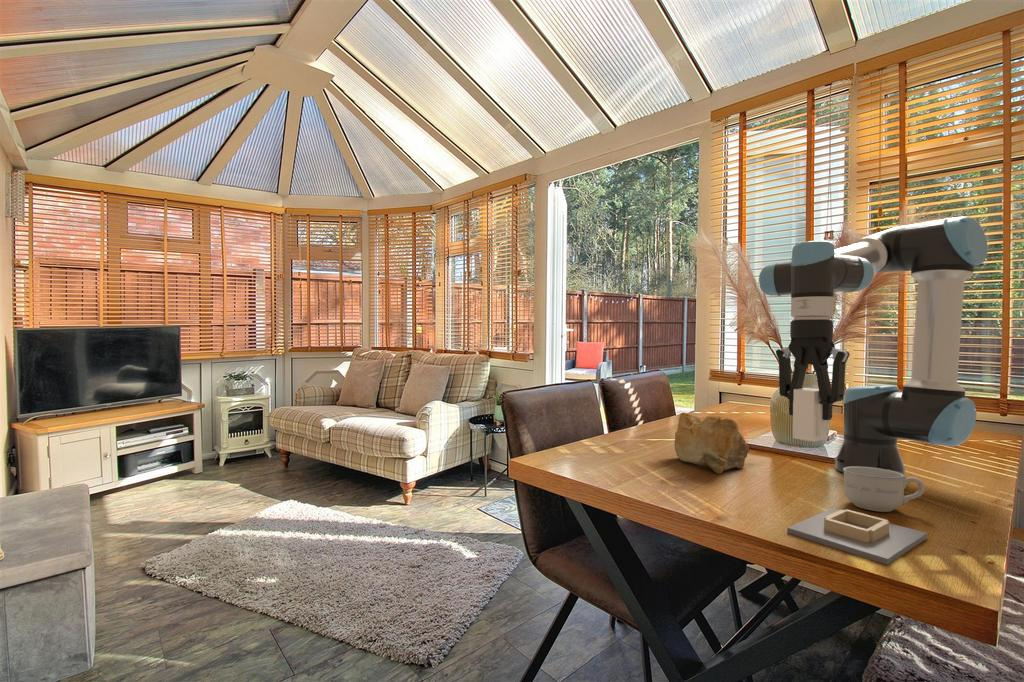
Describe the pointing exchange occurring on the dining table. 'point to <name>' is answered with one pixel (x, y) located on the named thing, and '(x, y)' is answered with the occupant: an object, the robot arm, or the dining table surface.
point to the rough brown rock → (710, 442)
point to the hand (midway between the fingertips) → (809, 433)
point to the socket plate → (859, 534)
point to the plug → (806, 414)
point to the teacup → (878, 488)
